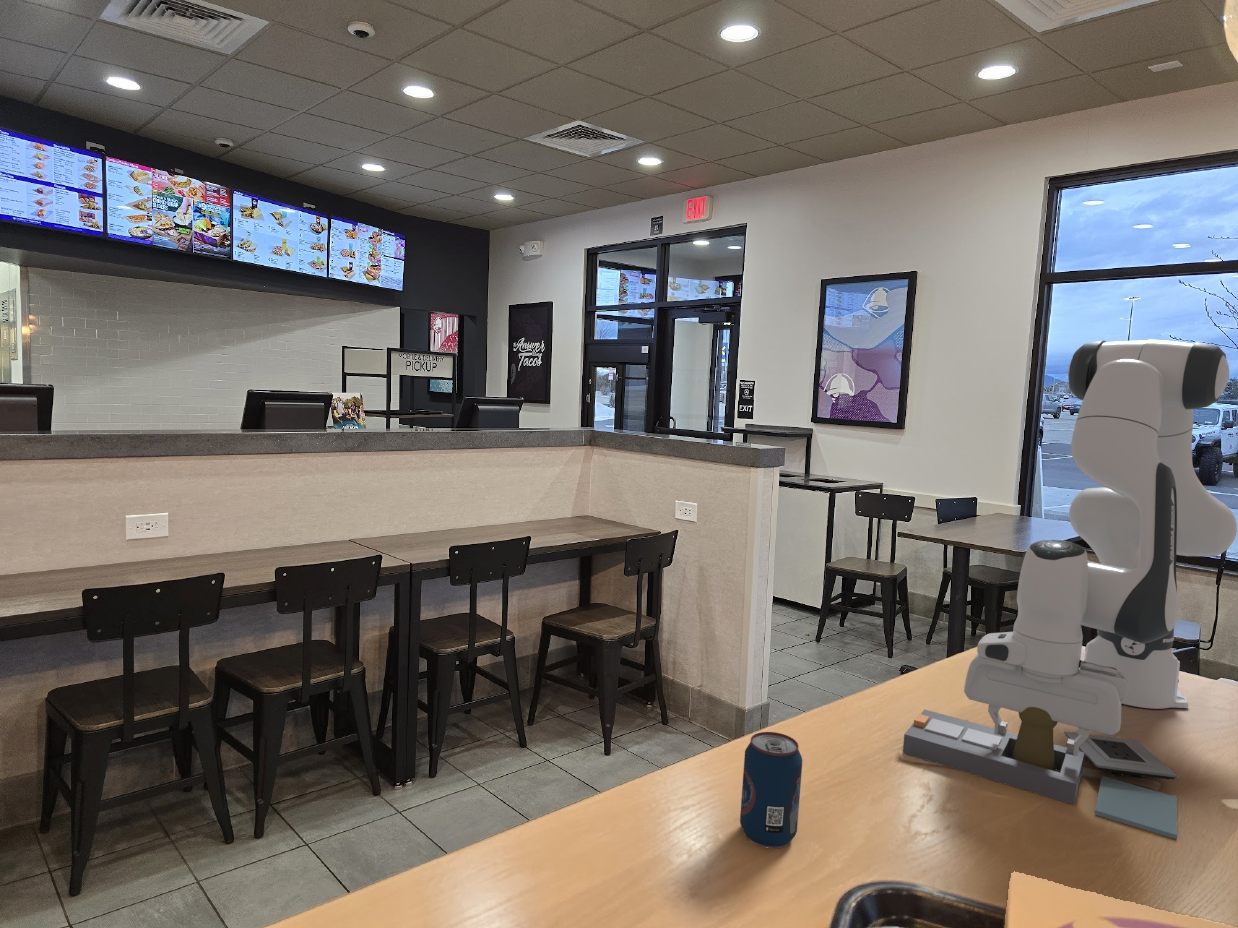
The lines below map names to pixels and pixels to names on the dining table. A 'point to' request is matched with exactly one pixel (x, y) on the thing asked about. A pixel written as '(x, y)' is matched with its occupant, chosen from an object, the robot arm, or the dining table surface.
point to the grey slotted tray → (990, 755)
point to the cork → (1035, 739)
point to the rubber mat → (1137, 807)
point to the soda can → (771, 789)
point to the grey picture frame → (1122, 757)
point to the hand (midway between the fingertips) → (1035, 743)
